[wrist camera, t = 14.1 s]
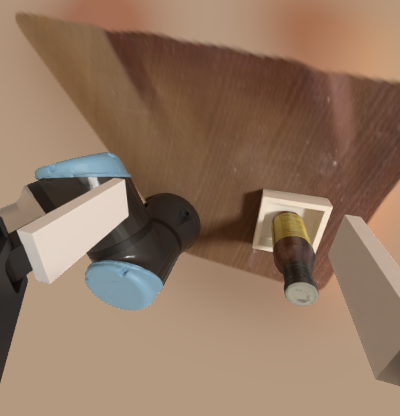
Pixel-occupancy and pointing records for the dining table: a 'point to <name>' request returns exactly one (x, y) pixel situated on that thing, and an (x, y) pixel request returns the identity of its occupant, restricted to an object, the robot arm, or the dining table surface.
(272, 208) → the square white tray
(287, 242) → the sauce bottle
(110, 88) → the dining table surface
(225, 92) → the dining table surface
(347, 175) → the dining table surface
